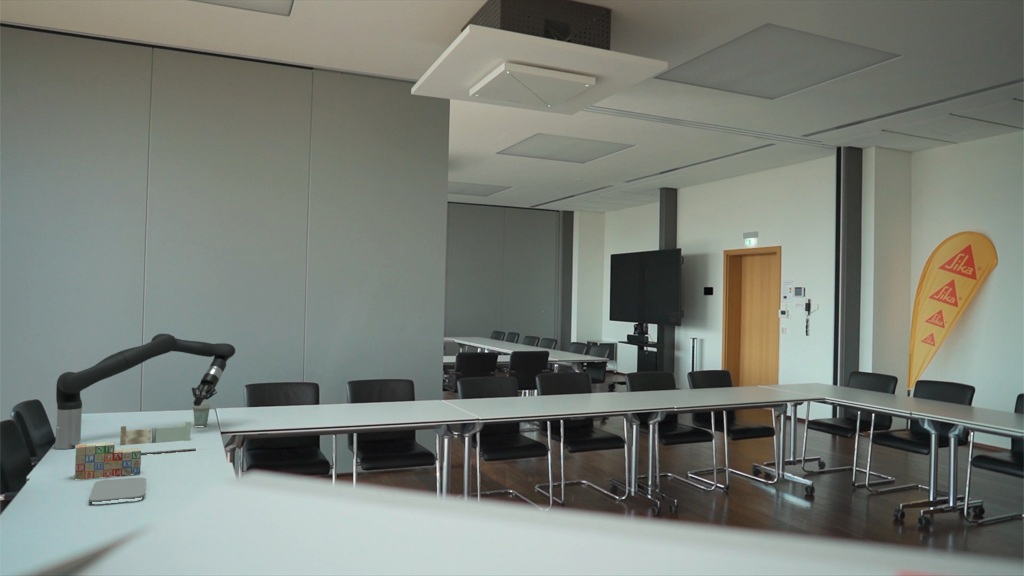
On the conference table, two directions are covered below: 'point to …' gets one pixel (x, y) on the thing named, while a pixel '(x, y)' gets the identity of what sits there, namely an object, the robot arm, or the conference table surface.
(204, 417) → the coffee cup
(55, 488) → the conference table surface
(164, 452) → the board
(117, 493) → the tablet
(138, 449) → the stack of blocks
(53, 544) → the conference table surface
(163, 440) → the hinged fence panel
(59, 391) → the robot arm
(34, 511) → the conference table surface
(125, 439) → the fixed fence panel
